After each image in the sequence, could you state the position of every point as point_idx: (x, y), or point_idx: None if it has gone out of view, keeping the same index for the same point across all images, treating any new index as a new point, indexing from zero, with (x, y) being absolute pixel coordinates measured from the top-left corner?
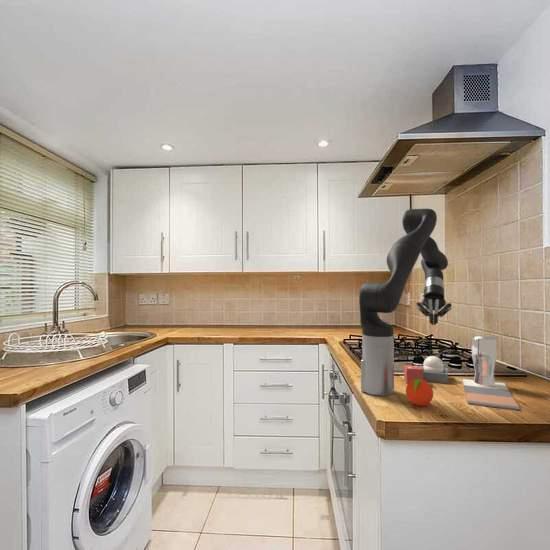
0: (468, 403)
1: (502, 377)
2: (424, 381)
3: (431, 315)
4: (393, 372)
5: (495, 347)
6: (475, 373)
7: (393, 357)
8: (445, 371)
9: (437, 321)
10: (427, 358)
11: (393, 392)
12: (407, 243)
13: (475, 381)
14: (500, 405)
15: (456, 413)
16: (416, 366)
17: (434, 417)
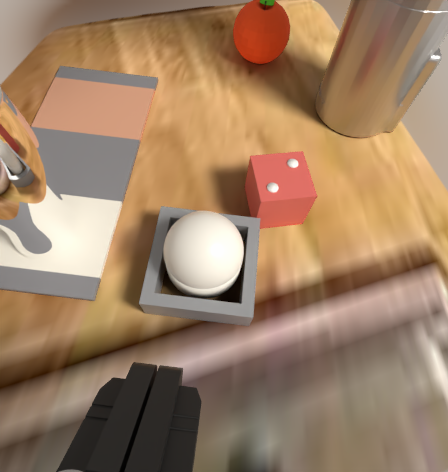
0: (156, 78)
1: None
2: (254, 1)
3: (162, 448)
4: (331, 55)
5: None
6: (64, 207)
7: (347, 14)
8: (161, 244)
9: (106, 393)
10: (229, 228)
11: (316, 99)
12: None
13: (76, 215)
14: (92, 75)
15: (193, 37)
16: (271, 185)
17: (234, 18)
